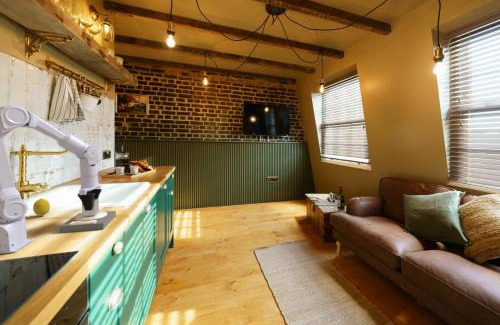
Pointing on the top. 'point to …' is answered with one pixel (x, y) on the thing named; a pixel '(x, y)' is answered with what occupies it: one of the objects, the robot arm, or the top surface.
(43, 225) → the top surface
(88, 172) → the robot arm
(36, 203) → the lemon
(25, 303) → the top surface
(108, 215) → the scale
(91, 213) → the block
